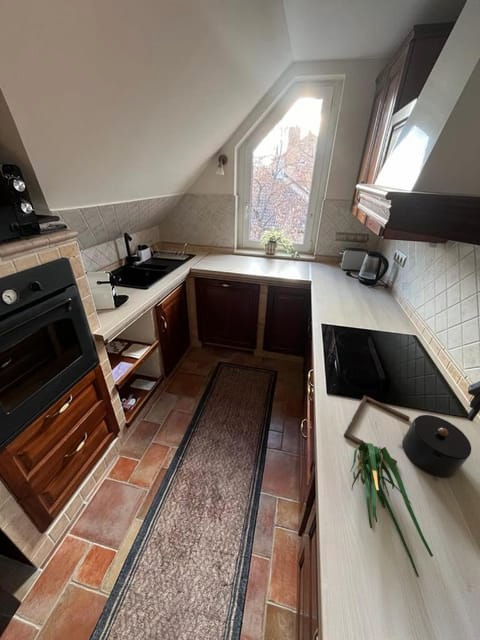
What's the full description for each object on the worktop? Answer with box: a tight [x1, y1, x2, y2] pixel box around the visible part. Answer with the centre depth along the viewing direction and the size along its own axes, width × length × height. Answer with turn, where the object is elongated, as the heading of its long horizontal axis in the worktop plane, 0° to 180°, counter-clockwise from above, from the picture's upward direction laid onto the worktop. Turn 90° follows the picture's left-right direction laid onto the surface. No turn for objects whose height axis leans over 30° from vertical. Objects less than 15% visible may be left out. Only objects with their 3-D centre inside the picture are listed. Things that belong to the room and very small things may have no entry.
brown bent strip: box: [343, 395, 410, 466], centre depth 85 cm, size 15×22×1 cm
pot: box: [401, 414, 472, 479], centre depth 74 cm, size 14×16×12 cm
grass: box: [349, 439, 434, 578], centre depth 62 cm, size 18×15×25 cm
